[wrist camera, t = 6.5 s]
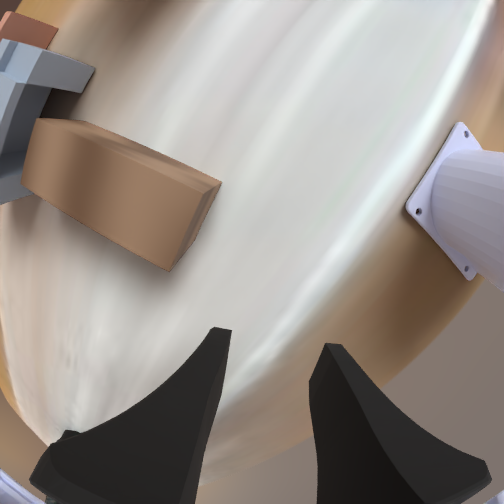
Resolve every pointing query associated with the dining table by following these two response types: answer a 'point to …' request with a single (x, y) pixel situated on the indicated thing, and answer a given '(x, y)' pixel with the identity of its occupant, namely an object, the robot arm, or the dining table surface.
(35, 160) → the peg
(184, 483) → the robot arm
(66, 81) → the block
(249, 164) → the dining table surface
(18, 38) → the backstop
